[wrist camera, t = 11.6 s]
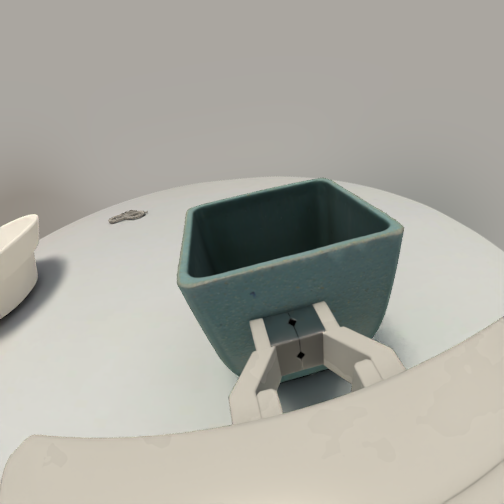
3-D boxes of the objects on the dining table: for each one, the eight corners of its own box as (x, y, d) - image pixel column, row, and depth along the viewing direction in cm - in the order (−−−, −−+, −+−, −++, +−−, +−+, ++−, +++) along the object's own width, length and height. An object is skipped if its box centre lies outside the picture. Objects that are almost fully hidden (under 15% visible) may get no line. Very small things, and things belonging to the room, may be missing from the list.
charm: (104, 221, 46) (114, 213, 50) (105, 224, 47) (115, 215, 50) (141, 214, 45) (150, 205, 48) (142, 217, 45) (151, 208, 48)
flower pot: (220, 320, 22) (185, 205, 18) (334, 290, 22) (325, 174, 18) (234, 421, 14) (174, 287, 10) (389, 375, 14) (409, 228, 10)
